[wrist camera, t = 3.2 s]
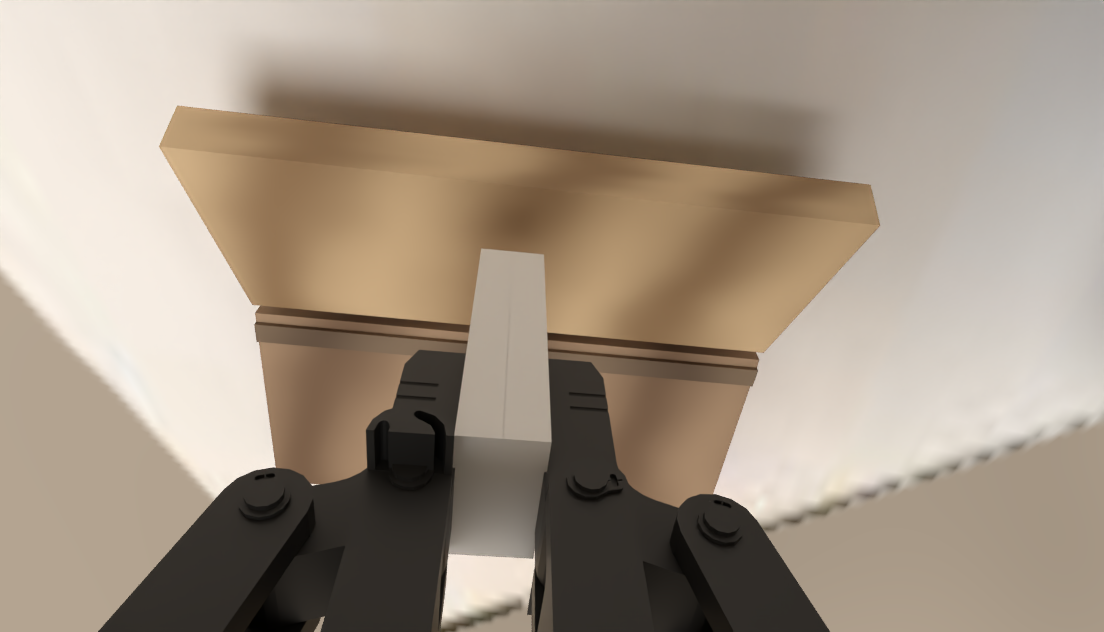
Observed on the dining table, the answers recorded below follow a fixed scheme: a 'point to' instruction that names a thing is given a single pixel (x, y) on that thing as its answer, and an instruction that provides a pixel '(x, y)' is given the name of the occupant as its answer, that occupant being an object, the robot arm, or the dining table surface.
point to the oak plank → (512, 228)
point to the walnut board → (388, 343)
